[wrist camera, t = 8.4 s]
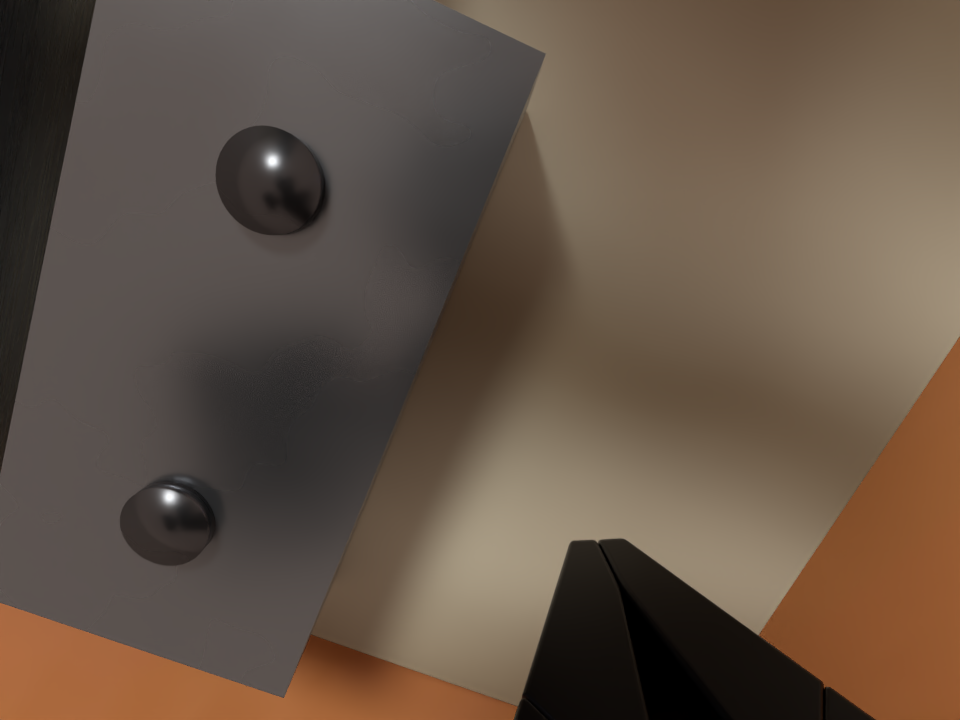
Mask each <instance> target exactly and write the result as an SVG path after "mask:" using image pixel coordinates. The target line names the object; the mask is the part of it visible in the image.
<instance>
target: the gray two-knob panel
mask: <svg viewBox="0 0 960 720" xmlns="http://www.w3.org/2000/svg"><path fill="white" fill-rule="evenodd" d="M545 55H546V54H545V53H543V52H541V51H539V50H537V49H535V48H533V47H531V46H528V45H526V44H524V43H522V42H520V41H518V40H516V39H514V38H512V37H510V36H507V35H505V34H503V33H501V32H499V31H497V30H495V29H493V28H491V27H489V26H486V25H484V24H482V23H480V22H478V21H476V20H474V19H472V18H470V17H467V16H465V15H463V14H461V13H459V12H457V11H455V10H453V9H451V8H449V7H446V6H444V5H442V4H440V3H438V2H436V1H434V0H96V3H95V8H94V13H93V18H92V23H91V28H90V33H89V38H88V43H87V48H86V53H85V58H84V62H83V67H82V72H81V77H80V82H79V87H78V92H77V97H76V102H75V107H74V112H73V117H72V122H71V127H70V132H69V137H68V142H67V147H66V152H65V156H64V161H63V166H62V171H61V176H60V181H59V186H58V191H57V196H56V201H55V206H54V211H53V216H52V221H51V226H50V231H49V236H48V241H47V246H46V250H45V255H44V260H43V265H42V270H41V275H40V280H39V285H38V290H37V295H36V300H35V305H34V310H33V315H32V320H31V325H30V330H29V335H28V339H27V344H26V349H25V354H24V359H23V364H22V369H21V374H20V379H19V384H18V389H17V394H16V399H15V404H14V409H13V414H12V419H11V424H10V429H9V433H8V438H7V443H6V448H5V453H4V458H3V463H2V468H1V473H0V603H3V604H6V605H9V606H12V607H15V608H18V609H21V610H24V611H27V612H30V613H32V614H35V615H38V616H41V617H44V618H47V619H50V620H53V621H56V622H59V623H62V624H65V625H68V626H71V627H74V628H77V629H80V630H83V631H86V632H89V633H92V634H95V635H98V636H101V637H104V638H107V639H110V640H113V641H116V642H119V643H122V644H125V645H128V646H131V647H134V648H137V649H140V650H143V651H146V652H149V653H151V654H154V655H157V656H160V657H163V658H166V659H169V660H172V661H175V662H178V663H181V664H184V665H187V666H190V667H193V668H196V669H199V670H202V671H205V672H208V673H211V674H214V675H217V676H220V677H223V678H226V679H229V680H232V681H235V682H238V683H241V684H244V685H247V686H250V687H253V688H256V689H259V690H262V691H265V692H268V693H270V694H273V695H276V696H279V697H282V698H284V696H285V694H286V692H287V689H288V687H289V685H290V682H291V680H292V678H293V675H294V673H295V671H296V668H297V666H298V664H299V661H300V659H301V657H302V654H303V652H304V650H305V648H306V645H307V643H308V641H309V638H310V636H311V634H312V631H313V629H314V627H315V624H316V622H317V620H318V617H319V615H320V613H321V610H322V608H323V606H324V603H325V601H326V599H327V596H328V594H329V592H330V589H331V587H332V585H333V582H334V580H335V577H336V575H337V573H338V570H339V568H340V565H341V563H342V560H343V558H344V555H345V553H346V551H347V548H348V546H349V543H350V541H351V538H352V536H353V533H354V531H355V529H356V526H357V524H358V521H359V519H360V516H361V514H362V511H363V509H364V506H365V504H366V502H367V499H368V497H369V494H370V492H371V489H372V487H373V484H374V482H375V480H376V477H377V475H378V472H379V470H380V467H381V465H382V462H383V460H384V458H385V455H386V453H387V450H388V448H389V445H390V443H391V440H392V438H393V435H394V433H395V431H396V428H397V426H398V423H399V421H400V418H401V416H402V413H403V411H404V409H405V406H406V404H407V401H408V399H409V396H410V394H411V391H412V389H413V387H414V384H415V382H416V379H417V377H418V374H419V372H420V369H421V367H422V364H423V362H424V360H425V357H426V355H427V352H428V350H429V347H430V345H431V342H432V340H433V338H434V335H435V333H436V330H437V328H438V325H439V323H440V320H441V318H442V316H443V313H444V311H445V308H446V306H447V303H448V301H449V298H450V296H451V293H452V291H453V289H454V286H455V284H456V281H457V279H458V276H459V274H460V271H461V269H462V267H463V264H464V262H465V259H466V257H467V254H468V252H469V249H470V247H471V245H472V242H473V240H474V237H475V235H476V232H477V230H478V227H479V225H480V223H481V220H482V218H483V215H484V213H485V210H486V208H487V205H488V203H489V200H490V198H491V196H492V193H493V191H494V188H495V186H496V183H497V181H498V178H499V176H500V174H501V171H502V169H503V166H504V164H505V161H506V159H507V156H508V154H509V152H510V149H511V147H512V144H513V142H514V139H515V137H516V134H517V132H518V129H519V127H520V125H521V122H522V120H523V117H524V115H525V112H526V110H527V107H528V104H529V101H530V99H531V96H532V93H533V90H534V87H535V84H536V81H537V78H538V75H539V72H540V70H541V67H542V64H543V61H544V58H545Z"/></svg>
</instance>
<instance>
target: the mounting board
mask: <svg viewBox="0 0 960 720" xmlns="http://www.w3.org/2000/svg"><path fill="white" fill-rule="evenodd" d="M434 1H436V2H438V3H440V4H442V5H444V6H446V7H449V8H451V9H453V10H455V11H457V12H459V13H461V14H463V15H465V16H467V17H470V18H472V19H474V20H476V21H478V22H480V23H482V24H484V25H486V26H489V27H491V28H493V29H495V30H497V31H499V32H501V33H503V34H505V35H507V36H510V37H512V38H514V39H516V40H518V41H520V42H522V43H524V44H526V45H528V46H531V47H533V48H535V49H537V50H539V51H541V52H543V53H545V54H546V55H545V58H544V61H543V64H542V67H541V70H540V72H539V75H538V78H537V81H536V84H535V87H534V90H533V93H532V96H531V99H530V101H529V104H528V107H527V110H526V112H525V115H524V117H523V120H522V122H521V125H520V127H519V129H518V132H517V134H516V137H515V139H514V142H513V144H512V147H511V149H510V152H509V154H508V156H507V159H506V161H505V164H504V166H503V169H502V171H501V174H500V176H499V178H498V181H497V183H496V186H495V188H494V191H493V193H492V196H491V198H490V200H489V203H488V205H487V208H486V210H485V213H484V215H483V218H482V220H481V223H480V225H479V227H478V230H477V232H476V235H475V237H474V240H473V242H472V245H471V247H470V249H469V252H468V254H467V257H466V259H465V262H464V264H463V267H462V269H461V271H460V274H459V276H458V279H457V281H456V284H455V286H454V289H453V291H452V293H451V296H450V298H449V301H448V303H447V306H446V308H445V311H444V313H443V316H442V318H441V320H440V323H439V325H438V328H437V330H436V333H435V335H434V338H433V340H432V342H431V345H430V347H429V350H428V352H427V355H426V357H425V360H424V362H423V364H422V367H421V369H420V372H419V374H418V377H417V379H416V382H415V384H414V387H413V389H412V391H411V394H410V396H409V399H408V401H407V404H406V406H405V409H404V411H403V413H402V416H401V418H400V421H399V423H398V426H397V428H396V431H395V433H394V435H393V438H392V440H391V443H390V445H389V448H388V450H387V453H386V455H385V458H384V460H383V462H382V465H381V467H380V470H379V472H378V475H377V477H376V480H375V482H374V484H373V487H372V489H371V492H370V494H369V497H368V499H367V502H366V504H365V506H364V509H363V511H362V514H361V516H360V519H359V521H358V524H357V526H356V529H355V531H354V533H353V536H352V538H351V541H350V543H349V546H348V548H347V551H346V553H345V555H344V558H343V560H342V563H341V565H340V568H339V570H338V573H337V575H336V577H335V580H334V582H333V585H332V587H331V589H330V592H329V594H328V596H327V599H326V601H325V603H324V606H323V608H322V610H321V613H320V615H319V617H318V620H317V622H316V624H315V627H314V629H313V631H312V634H311V635H314V636H317V637H319V638H322V639H325V640H328V641H331V642H334V643H337V644H340V645H342V646H345V647H348V648H351V649H354V650H357V651H360V652H363V653H366V654H368V655H371V656H374V657H377V658H380V659H383V660H386V661H389V662H391V663H394V664H397V665H400V666H403V667H406V668H409V669H412V670H414V671H417V672H420V673H423V674H426V675H429V676H432V677H435V678H437V679H440V680H443V681H446V682H449V683H452V684H455V685H458V686H460V687H463V688H466V689H469V690H472V691H475V692H478V693H481V694H483V695H486V696H489V697H492V698H495V699H498V700H501V701H504V702H506V703H509V704H512V705H515V706H518V705H519V702H520V700H521V699H522V693H523V690H524V687H525V684H526V680H527V677H528V674H529V671H530V668H531V664H532V661H533V658H534V655H535V652H536V648H537V645H538V642H539V639H540V636H541V632H542V629H543V626H544V623H545V620H546V616H547V613H548V610H549V607H550V604H551V600H552V597H553V594H554V591H555V588H556V584H557V581H558V578H559V575H560V572H561V568H562V565H563V562H564V559H565V556H566V552H567V549H568V546H569V543H570V542H571V541H573V540H595V541H597V543H598V541H599V540H601V539H615V538H623V539H626V540H627V541H629V542H630V543H632V544H633V545H634V546H636V547H637V548H638V549H640V550H641V551H643V552H644V553H645V554H647V555H648V556H649V557H651V558H652V559H654V560H655V561H656V562H658V563H659V564H661V565H662V566H663V567H665V568H666V569H667V570H669V571H670V572H672V573H673V574H674V575H676V576H677V577H678V578H680V579H681V580H683V581H684V582H685V583H687V584H688V585H690V586H691V587H692V588H694V589H695V590H696V591H698V592H699V593H701V594H702V595H703V596H705V597H706V598H707V599H709V600H710V601H712V602H713V603H714V604H716V605H717V606H719V607H720V608H721V609H723V610H724V611H725V612H727V613H728V614H730V615H731V616H732V617H734V618H735V619H736V620H738V621H739V622H741V623H742V624H743V625H745V626H746V627H748V628H749V629H750V630H752V631H753V632H754V633H756V634H757V635H759V633H760V632H761V631H762V629H763V628H764V626H765V625H766V623H767V622H768V620H769V619H770V617H771V616H772V614H773V613H774V611H775V610H776V608H777V607H778V605H779V604H780V602H781V601H782V599H783V598H784V596H785V595H786V593H787V592H788V590H789V589H790V587H791V586H792V584H793V583H794V582H795V580H796V579H797V577H798V576H799V574H800V573H801V571H802V570H803V568H804V567H805V565H806V564H807V562H808V561H809V559H810V558H811V556H812V555H813V553H814V552H815V550H816V549H817V547H818V546H819V544H820V543H821V541H822V540H823V538H824V537H825V535H826V534H827V533H828V531H829V530H830V528H831V527H832V525H833V524H834V522H835V521H836V519H837V518H838V516H839V515H840V513H841V512H842V510H843V509H844V507H845V506H846V504H847V503H848V501H849V500H850V498H851V497H852V495H853V494H854V492H855V491H856V489H857V488H858V486H859V485H860V484H861V482H862V481H863V479H864V478H865V476H866V475H867V473H868V472H869V470H870V469H871V467H872V466H873V464H874V463H875V461H876V460H877V458H878V457H879V455H880V454H881V452H882V451H883V449H884V448H885V446H886V445H887V443H888V442H889V440H890V439H891V438H892V436H893V435H894V433H895V432H896V430H897V429H898V427H899V426H900V424H901V423H902V421H903V420H904V418H905V417H906V415H907V414H908V412H909V411H910V409H911V408H912V406H913V405H914V403H915V402H916V400H917V399H918V397H919V396H920V394H921V393H922V391H923V390H924V389H925V387H926V386H927V384H928V383H929V381H930V380H931V378H932V377H933V375H934V374H935V372H936V371H937V369H938V368H939V366H940V365H941V363H942V362H943V360H944V359H945V357H946V356H947V354H948V353H949V351H950V350H951V348H952V347H953V345H954V344H955V342H956V341H957V340H958V338H959V337H960V0H434Z"/></svg>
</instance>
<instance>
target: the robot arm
mask: <svg viewBox="0 0 960 720" xmlns="http://www.w3.org/2000/svg"><path fill="white" fill-rule="evenodd" d="M514 720H875V719H874V718H873V717H871V716H870V715H868V714H867V713H865V712H864V711H863V710H861V709H860V708H858V707H857V706H856V705H854V704H853V703H851V702H850V701H849V700H847V699H846V698H845V697H843V696H842V695H840V694H839V693H838V692H836V691H835V690H834V689H832V688H831V687H825V689H824V684H823V682H822V681H821V680H819V679H818V678H817V677H815V676H814V675H812V674H811V673H810V672H808V671H807V670H806V669H804V668H803V667H801V666H800V665H799V664H797V663H796V662H794V661H793V660H792V659H790V658H789V657H788V656H786V655H785V654H783V653H782V652H781V651H779V650H778V649H777V648H775V647H774V646H772V645H771V644H770V643H768V642H767V641H765V640H764V639H763V638H761V637H760V636H759V635H757V634H756V633H754V632H753V631H752V630H750V629H749V628H748V627H746V626H745V625H743V624H742V623H741V622H739V621H738V620H736V619H735V618H734V617H732V616H731V615H730V614H728V613H727V612H725V611H724V610H723V609H721V608H720V607H719V606H717V605H716V604H714V603H713V602H712V601H710V600H709V599H707V598H706V597H705V596H703V595H702V594H701V593H699V592H698V591H696V590H695V589H694V588H692V587H691V586H690V585H688V584H687V583H685V582H684V581H683V580H681V579H680V578H678V577H677V576H676V575H674V574H673V573H672V572H670V571H669V570H667V569H666V568H665V567H663V566H662V565H661V564H659V563H658V562H656V561H655V560H654V559H652V558H651V557H649V556H648V555H647V554H645V553H644V552H643V551H641V550H640V549H638V548H637V547H636V546H634V545H633V544H632V543H630V542H629V541H627V540H626V539H623V538H615V539H601V540H599V541H598V543H597V541H595V540H573V541H571V542H570V543H569V546H568V549H567V552H566V556H565V559H564V562H563V565H562V568H561V572H560V575H559V578H558V581H557V584H556V588H555V591H554V594H553V597H552V600H551V604H550V607H549V610H548V613H547V616H546V620H545V623H544V626H543V629H542V632H541V636H540V639H539V642H538V645H537V648H536V652H535V655H534V658H533V661H532V664H531V668H530V671H529V674H528V677H527V680H526V684H525V687H524V690H523V693H522V699H521V700H520V702H519V705H518V708H517V711H516V714H515V717H514Z"/></svg>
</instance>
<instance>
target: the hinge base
mask: <svg viewBox="0 0 960 720" xmlns="http://www.w3.org/2000/svg"><path fill="white" fill-rule="evenodd" d="M95 3H96V0H0V473H1V468H2V463H3V458H4V453H5V448H6V443H7V438H8V433H9V429H10V424H11V419H12V414H13V409H14V404H15V399H16V394H17V389H18V384H19V379H20V374H21V369H22V364H23V359H24V354H25V349H26V344H27V339H28V335H29V330H30V325H31V320H32V315H33V310H34V305H35V300H36V295H37V290H38V285H39V280H40V275H41V270H42V265H43V260H44V255H45V250H46V246H47V241H48V236H49V231H50V226H51V221H52V216H53V211H54V206H55V201H56V196H57V191H58V186H59V181H60V176H61V171H62V166H63V161H64V156H65V152H66V147H67V142H68V137H69V132H70V127H71V122H72V117H73V112H74V107H75V102H76V97H77V92H78V87H79V82H80V77H81V72H82V67H83V62H84V58H85V53H86V48H87V43H88V38H89V33H90V28H91V23H92V18H93V13H94V8H95Z"/></svg>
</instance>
